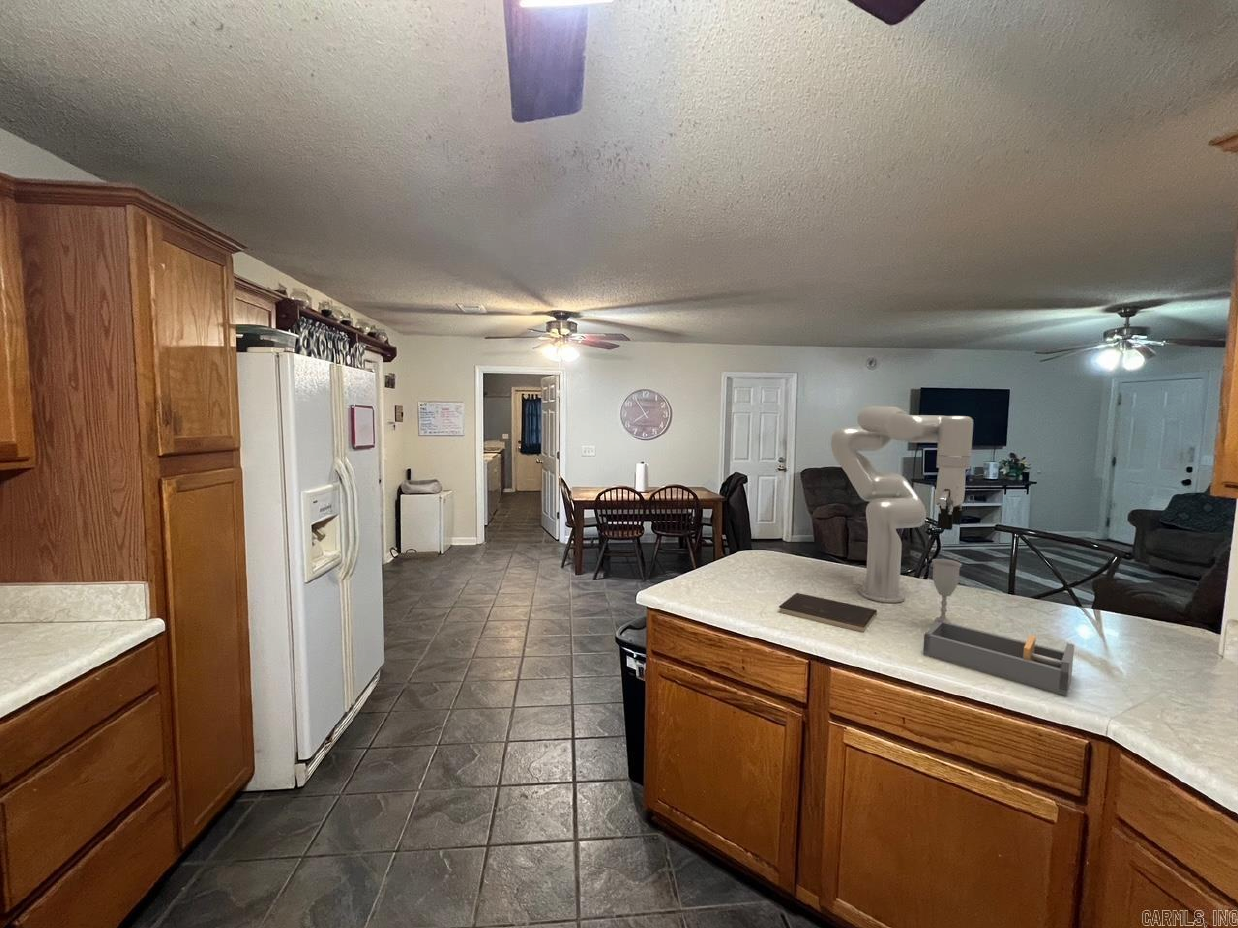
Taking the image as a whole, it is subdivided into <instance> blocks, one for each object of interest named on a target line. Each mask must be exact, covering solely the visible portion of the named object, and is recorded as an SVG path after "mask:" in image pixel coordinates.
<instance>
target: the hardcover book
mask: <svg viewBox="0 0 1238 928" xmlns="http://www.w3.org/2000/svg"><path fill="white" fill-rule="evenodd" d="M778 608H779V613H782V614H786V615H790V616H795V617H798V618H803V619H807V620H810V621H816V622H820V623H823V624H827V625H832V626H836V627H840V628H844V629H849V630H853V631H857V632H861V633H864V632H865V631H866V629H867V628H868V626H869V625H870V624H871V622H872V621H873V620H874V618H876V616H877V615H878V610H877V609H875V608H871V607H865V606H860V605H856V604H852V603H851V604H850V603H848V602H847V603H846V602H842V601H839V600H838V601H837V600H833V599H827V598H824V597H818V596H813V595H810V594H804V593H800V592H796V593H794V594H793V595H791V596H790V597H789V598H788V599H787V600H785V601H784V602H783V603H782V604H780V605H778Z"/></svg>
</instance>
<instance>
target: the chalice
mask: <svg viewBox="0 0 1238 928" xmlns="http://www.w3.org/2000/svg"><path fill="white" fill-rule="evenodd" d="M931 563H932V564H933V569H932V570H933V571H932V580H933V583H934V586H935V589H936V591H937V594H938V595H940V596H941V597H942V600H941V602H940V605H941V607H940V609H939V610H940V613H941V615H940V616H937V617H936V618H934V621H933V622H932V624H931V627H932V626H933V625H934V624H935V623H936V622H937V621H938V620H940V621H944V622H948V623H952V622H951V620H950V619H949V618H947V616H946V612H947V611H948V609H947V605H948V602H947V598H948V597H951V595H952V594H953V593H954V592H955V590H956V588H957V586H958V585H959V580H960V578H959V577H960V569H961V567H962V565H963V564H962V563H961V562H959V561H956V560H953V559H946V558H933V559H931Z"/></svg>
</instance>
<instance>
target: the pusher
mask: <svg viewBox="0 0 1238 928" xmlns="http://www.w3.org/2000/svg"><path fill="white" fill-rule="evenodd" d="M1025 642H1026V644H1025V646H1024V652H1023V659H1026V660H1030V661H1034V659H1035V660H1039V661H1043V662H1046V663H1050V664H1054V665H1058V666H1061V662H1062V661H1061V660H1057V659H1053V658H1049V657H1045V656H1042V655H1038V654H1034V649H1035V644H1036V636H1035V635H1031V634H1030V635H1029V636H1028V638H1027V641H1025Z"/></svg>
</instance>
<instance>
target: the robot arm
mask: <svg viewBox="0 0 1238 928" xmlns="http://www.w3.org/2000/svg"><path fill="white" fill-rule="evenodd" d="M856 423H857V424H858V426H846V427H841V428H839V429H837V430H835V431H834V432H833V433H832V436H831V440H830V447H831V452H832V455H833V458H834V459H835V460H836V462H837V464H838V465H839V466H840V468H842V470H843V471H844V472H845V474H846V475H847V477H848V479H849V481H850V482H851V484H852V487H854V490H855V491H856V492H857V494H858V496H859V498H860V499H862V500H863V501H865V502H868V504H867V505H866V507H865V517H866V523H867V524H866V525H867V553H866V554H867V556H866V574H865V578H860V577H853V579H852V583H853V585H854V586H860V587H861V588H860V589H859V594H860V595H861V596H862V597H863V598H866V599H868V600H872V601H875V602H881V603H888V604H889V603H890V604H894V603H901V602H903V601H905V595H904V594H903V593H902V592H901V591H900V585H901V584H900V583H901V563H902V550H903V549H902V547H903V546H902V545H903V544H902V539H901V537H900V535H899V534H898V532H897V529H907V528H908V529H910V528H918V527H921V526H922V525H923V524H924V523H925V521H926V519H927V511H926V507H925V505H924V503H923V502H922V500H921V499H920V497H919V496H918V494H917V493H916V491H915V490H914V488H913V487H912V485H911V483H909V480H907V479H906V477H905V476H902V474H900V473H897V472H896V473H895V472H881V471H878V470H877V469H876V468H875V467H874V465H873V464H872V462H871V461H870V460H869V459H868V457H866V456H864V455H863V454H861V453H860V452H876V451H877V452H878V451H880V450H882V449H884V448H885V447H886V446H887V445H888V444H889V443H890V442H891V441H892V440H895V441H896V440H897V441H900V442H901V441H902V442H905V443H906V442H907V443H930V444H931V443H935V444H937V455H936V468H938V473H937V480H936V487H935V498H934V503H935V505H936V506H938V507H939V508H938V514H937V529H940V530H945V531H946V530H947V531H951V530H953V525H958V526H961V524H962V518H963V517H962V516H963V505H962V504H963V503H964V500H965V493H966V470H970V469H971V467H972V466H971V464H972V449H973V432H974V419H973V418H972V417H971V416H968V415H967V416H966V415H933V414H932V415H930V414H929V415H927V414H920V415H919V414H916V415H914V414H908V412H907V411H905V410H903V409H901V408H899V406H898V407H897V406H888V405H887V406H886V405H885V406H881V405H879V406H878V405H873V406H867V407H864V408H863V409H861V410H860V412H858V414H857V422H856Z"/></svg>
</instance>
